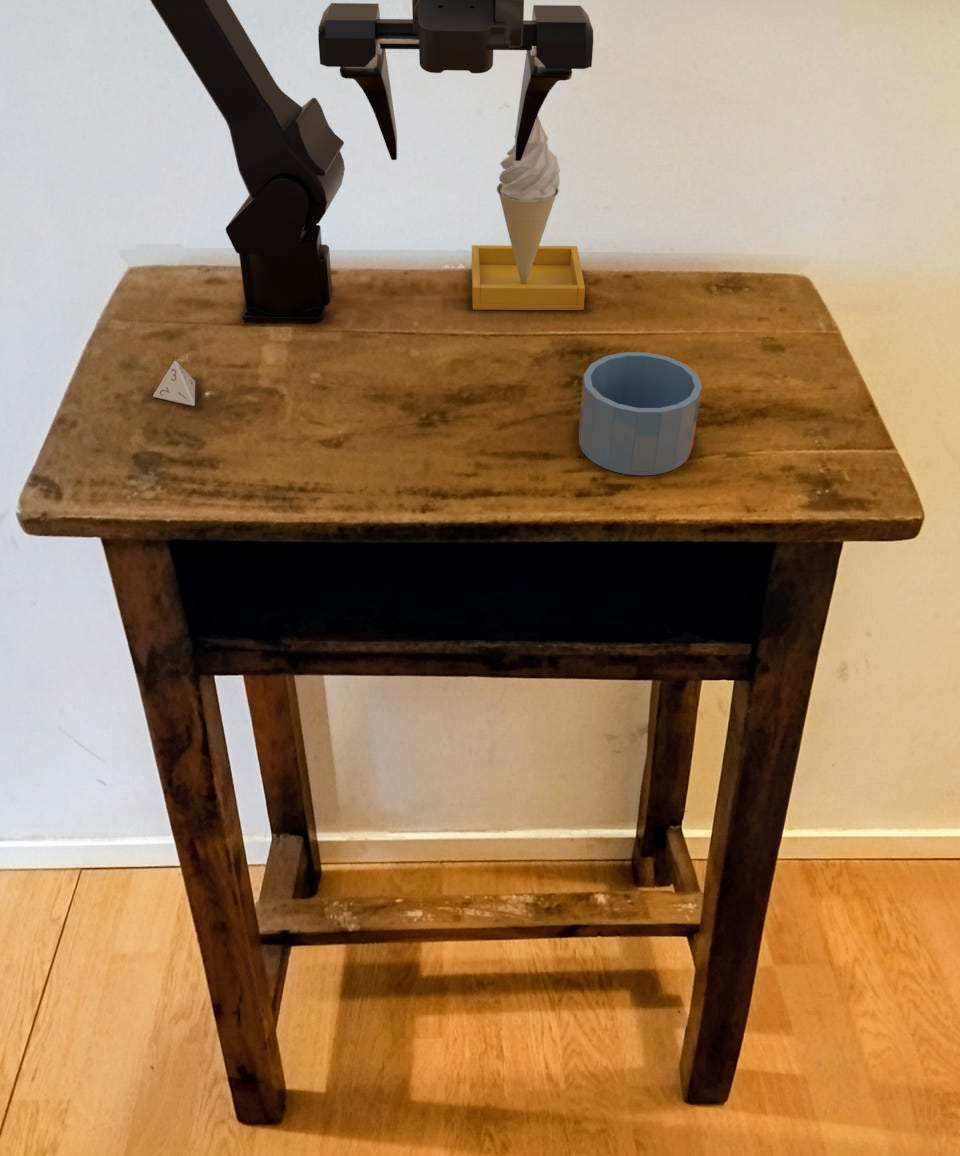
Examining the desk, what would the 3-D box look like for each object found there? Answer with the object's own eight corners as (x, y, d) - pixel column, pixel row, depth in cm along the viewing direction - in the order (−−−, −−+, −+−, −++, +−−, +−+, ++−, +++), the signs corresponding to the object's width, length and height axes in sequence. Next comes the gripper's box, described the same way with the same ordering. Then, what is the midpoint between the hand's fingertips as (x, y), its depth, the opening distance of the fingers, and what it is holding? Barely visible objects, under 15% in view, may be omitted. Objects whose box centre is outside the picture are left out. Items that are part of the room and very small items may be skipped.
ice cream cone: (565, 282, 98) (577, 101, 89) (525, 301, 95) (534, 116, 86) (521, 264, 101) (529, 86, 91) (481, 282, 98) (485, 100, 88)
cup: (583, 475, 77) (589, 411, 74) (574, 413, 83) (579, 351, 80) (699, 475, 77) (710, 412, 74) (682, 413, 83) (691, 352, 80)
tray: (472, 309, 95) (472, 287, 94) (471, 266, 102) (471, 245, 100) (583, 310, 96) (585, 288, 94) (575, 267, 102) (577, 245, 100)
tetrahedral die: (214, 400, 86) (216, 360, 85) (193, 406, 83) (195, 365, 82) (173, 390, 87) (175, 351, 85) (152, 397, 84) (153, 356, 83)
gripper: (301, -53, 69) (321, 200, 80) (610, -49, 70) (590, 202, 80) (318, -90, 78) (333, 143, 88) (593, -86, 78) (577, 145, 88)
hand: (456, 158), depth 86 cm, fingers open, 9 cm apart
